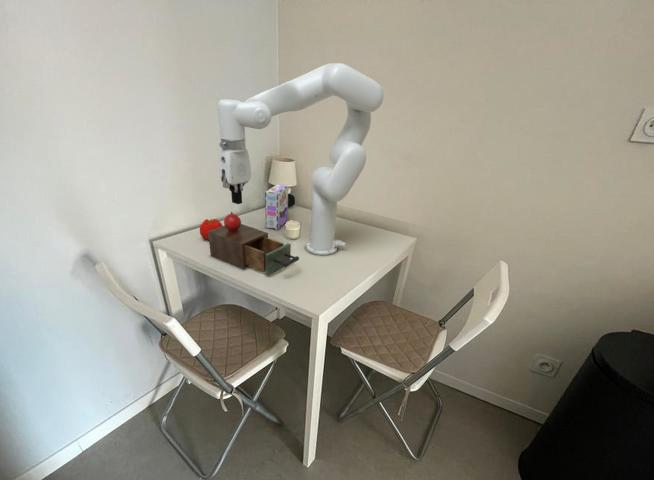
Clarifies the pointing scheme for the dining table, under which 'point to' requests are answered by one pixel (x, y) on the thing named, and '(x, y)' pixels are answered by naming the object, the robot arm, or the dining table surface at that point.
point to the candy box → (276, 206)
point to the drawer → (268, 255)
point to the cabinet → (233, 243)
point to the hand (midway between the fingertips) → (237, 202)
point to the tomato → (209, 227)
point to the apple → (232, 222)
